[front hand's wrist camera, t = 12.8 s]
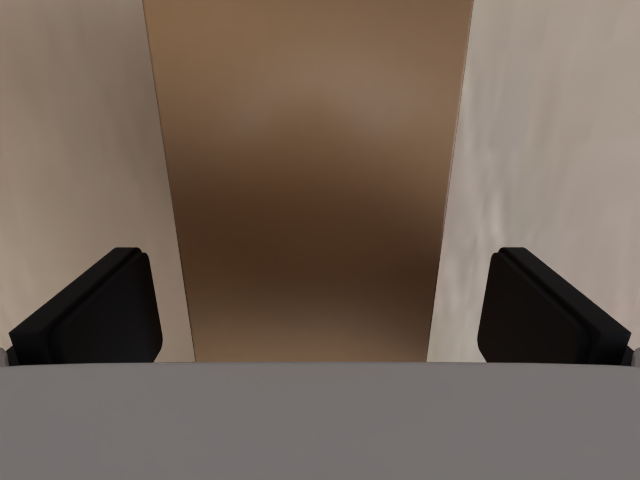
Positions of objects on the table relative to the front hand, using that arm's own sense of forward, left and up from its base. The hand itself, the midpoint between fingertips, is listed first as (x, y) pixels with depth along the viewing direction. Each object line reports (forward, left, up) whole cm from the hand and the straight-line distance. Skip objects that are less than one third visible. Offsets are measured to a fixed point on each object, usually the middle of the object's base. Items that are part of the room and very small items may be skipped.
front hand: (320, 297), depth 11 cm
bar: (+33, 0, -7) cm, 34 cm away
